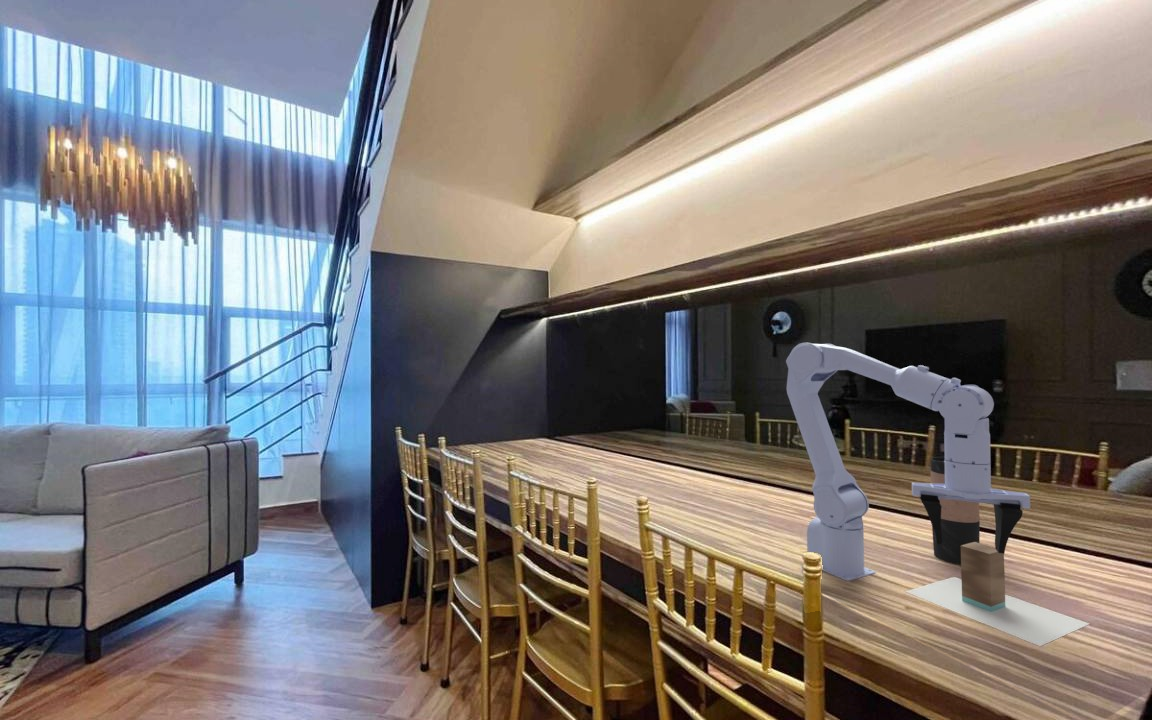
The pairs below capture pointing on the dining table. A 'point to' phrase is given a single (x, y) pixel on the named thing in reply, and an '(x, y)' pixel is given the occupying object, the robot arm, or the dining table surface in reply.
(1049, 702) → the dining table surface
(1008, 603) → the grey mat
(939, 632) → the dining table surface
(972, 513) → the travel mug
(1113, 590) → the dining table surface
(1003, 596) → the walnut block
